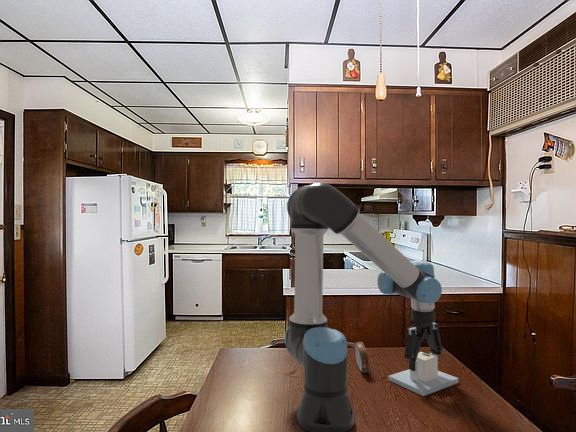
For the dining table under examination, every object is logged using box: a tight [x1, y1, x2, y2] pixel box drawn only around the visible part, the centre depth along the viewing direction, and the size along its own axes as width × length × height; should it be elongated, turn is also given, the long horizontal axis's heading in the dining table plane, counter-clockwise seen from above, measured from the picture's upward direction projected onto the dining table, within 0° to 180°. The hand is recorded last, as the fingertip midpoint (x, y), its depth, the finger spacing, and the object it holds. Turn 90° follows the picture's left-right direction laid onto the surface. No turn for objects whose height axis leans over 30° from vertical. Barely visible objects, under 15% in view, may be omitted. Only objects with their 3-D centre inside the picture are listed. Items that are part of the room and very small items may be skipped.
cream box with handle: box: [413, 351, 437, 382], centre depth 126 cm, size 6×6×7 cm
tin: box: [354, 341, 370, 373], centre depth 138 cm, size 15×3×8 cm, turn 178°
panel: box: [387, 369, 459, 397], centre depth 126 cm, size 18×14×6 cm
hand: (424, 376), depth 126 cm, fingers closed on panel, 9 cm apart
